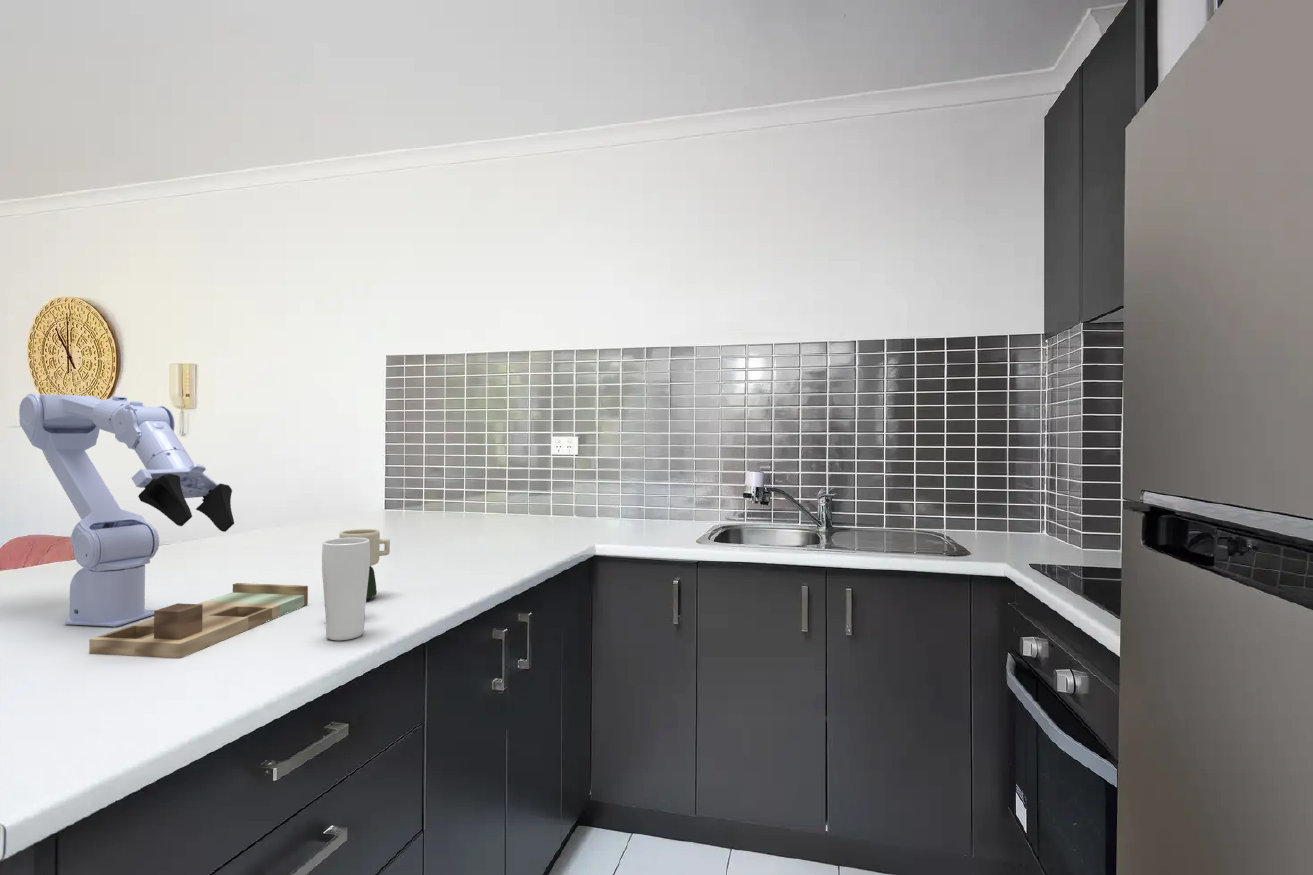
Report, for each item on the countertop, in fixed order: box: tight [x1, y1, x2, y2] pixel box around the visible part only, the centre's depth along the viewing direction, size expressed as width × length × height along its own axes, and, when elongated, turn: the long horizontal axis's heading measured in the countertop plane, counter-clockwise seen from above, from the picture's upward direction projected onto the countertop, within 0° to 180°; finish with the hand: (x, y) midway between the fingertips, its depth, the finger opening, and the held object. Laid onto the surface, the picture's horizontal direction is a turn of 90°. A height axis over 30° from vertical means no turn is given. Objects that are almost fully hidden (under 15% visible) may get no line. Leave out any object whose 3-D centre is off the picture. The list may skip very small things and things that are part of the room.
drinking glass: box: [321, 537, 370, 642], centre depth 99 cm, size 7×7×15 cm
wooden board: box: [88, 582, 309, 659], centre depth 104 cm, size 14×28×4 cm, turn 175°
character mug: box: [338, 528, 391, 600], centre depth 121 cm, size 11×7×13 cm, turn 126°
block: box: [153, 603, 203, 640], centre depth 93 cm, size 4×4×4 cm
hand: (207, 524), depth 96 cm, fingers open, 7 cm apart
